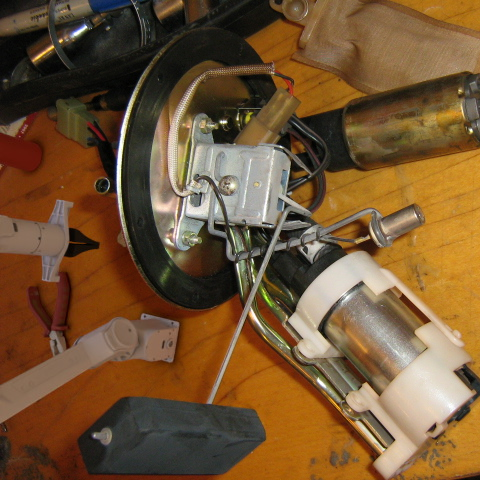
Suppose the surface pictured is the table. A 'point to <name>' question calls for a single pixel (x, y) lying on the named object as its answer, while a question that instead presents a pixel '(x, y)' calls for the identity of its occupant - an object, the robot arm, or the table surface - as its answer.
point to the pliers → (57, 325)
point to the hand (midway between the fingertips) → (95, 244)
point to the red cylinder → (19, 153)
